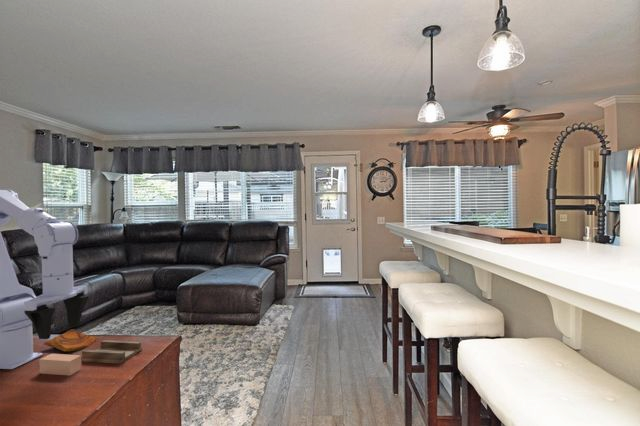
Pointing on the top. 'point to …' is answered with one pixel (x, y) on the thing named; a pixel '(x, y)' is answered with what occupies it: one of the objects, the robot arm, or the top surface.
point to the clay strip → (60, 364)
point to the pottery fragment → (71, 341)
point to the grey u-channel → (112, 352)
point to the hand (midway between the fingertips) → (59, 332)
